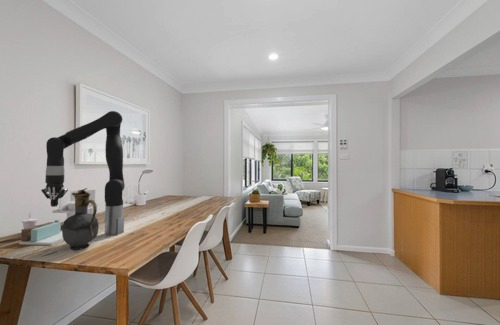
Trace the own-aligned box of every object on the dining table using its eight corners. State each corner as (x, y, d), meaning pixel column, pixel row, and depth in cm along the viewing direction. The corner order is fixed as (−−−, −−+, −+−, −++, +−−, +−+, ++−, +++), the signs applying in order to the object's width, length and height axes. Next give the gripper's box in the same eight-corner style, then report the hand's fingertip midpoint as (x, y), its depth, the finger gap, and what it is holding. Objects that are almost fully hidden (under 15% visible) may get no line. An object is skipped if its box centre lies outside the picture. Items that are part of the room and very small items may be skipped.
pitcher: (82, 241, 115) (84, 186, 116) (105, 247, 108) (107, 188, 109) (58, 248, 105) (60, 188, 106) (81, 255, 98) (84, 190, 99)
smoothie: (18, 239, 118) (20, 213, 118) (24, 235, 123) (25, 211, 124) (34, 237, 121) (35, 212, 121) (39, 234, 126) (40, 210, 127)
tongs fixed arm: (48, 232, 125) (49, 222, 126) (53, 232, 125) (54, 222, 126) (21, 241, 110) (21, 229, 111) (26, 241, 110) (27, 229, 111)
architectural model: (81, 230, 136) (82, 193, 137) (45, 230, 134) (46, 193, 134) (105, 219, 164) (106, 189, 164) (76, 220, 161) (77, 189, 162)
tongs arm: (56, 231, 128) (56, 220, 128) (63, 231, 128) (64, 220, 128) (27, 241, 110) (28, 228, 111) (36, 241, 111) (37, 228, 111)
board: (82, 233, 130) (82, 231, 130) (51, 245, 110) (51, 242, 110) (55, 232, 130) (55, 230, 130) (19, 244, 110) (19, 242, 110)
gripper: (73, 174, 119) (72, 205, 118) (49, 174, 119) (48, 205, 118) (61, 174, 111) (60, 207, 111) (36, 174, 111) (35, 207, 111)
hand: (54, 206), depth 115 cm, fingers closed
